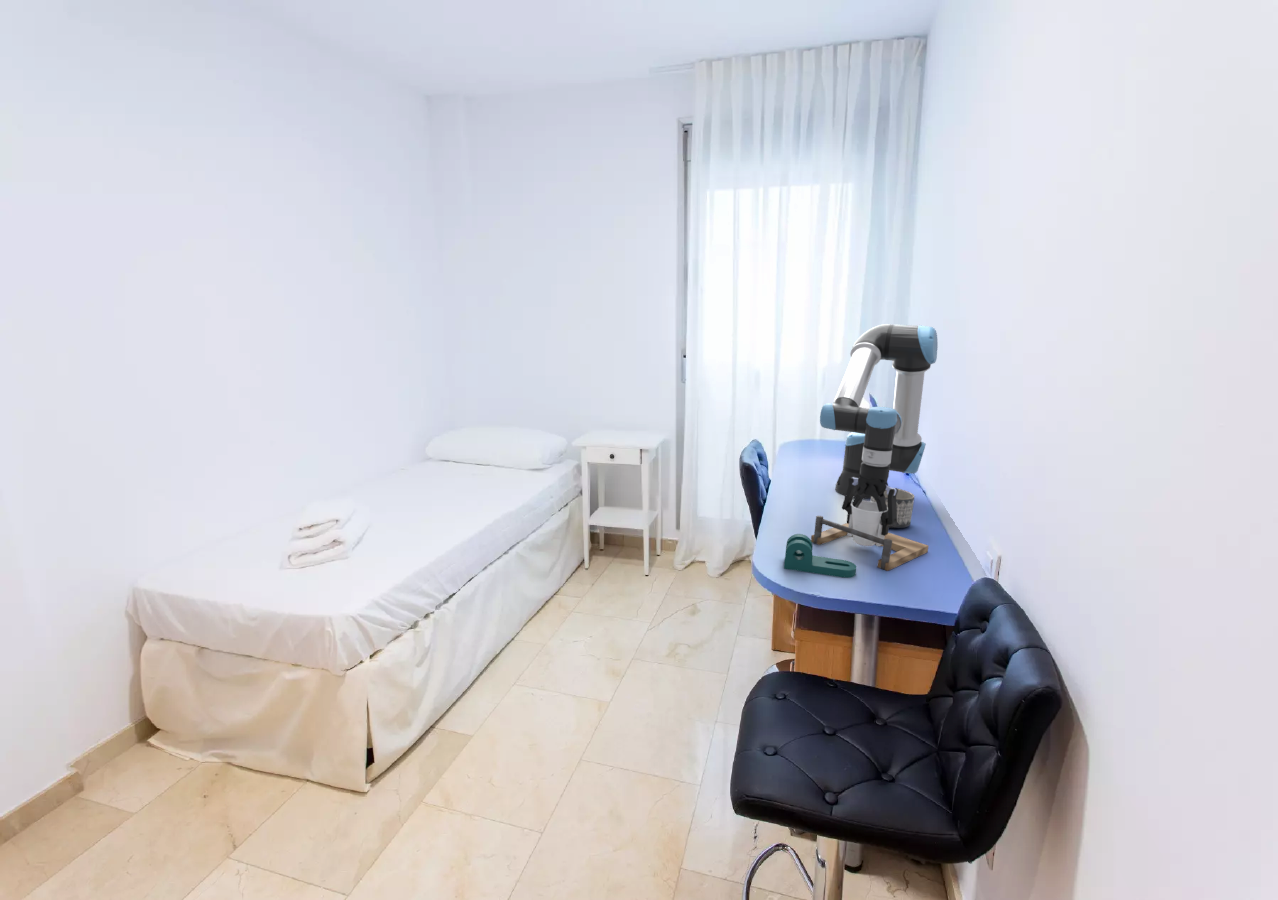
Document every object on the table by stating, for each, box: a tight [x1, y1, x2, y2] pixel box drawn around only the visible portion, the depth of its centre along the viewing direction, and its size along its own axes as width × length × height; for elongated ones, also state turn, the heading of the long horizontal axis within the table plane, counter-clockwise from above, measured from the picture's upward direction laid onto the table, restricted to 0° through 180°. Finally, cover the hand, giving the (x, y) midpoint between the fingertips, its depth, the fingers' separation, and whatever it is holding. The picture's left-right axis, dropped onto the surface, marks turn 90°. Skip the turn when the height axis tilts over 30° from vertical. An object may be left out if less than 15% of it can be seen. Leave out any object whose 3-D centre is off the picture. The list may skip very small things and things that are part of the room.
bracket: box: [783, 533, 857, 579], centre depth 157 cm, size 18×7×8 cm, turn 74°
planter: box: [869, 488, 916, 529], centre depth 193 cm, size 13×13×10 cm
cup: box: [851, 500, 888, 547], centre depth 171 cm, size 10×10×11 cm
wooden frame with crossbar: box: [810, 515, 930, 572], centre depth 173 cm, size 22×24×8 cm
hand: (865, 539), depth 172 cm, fingers closed on cup, 8 cm apart
